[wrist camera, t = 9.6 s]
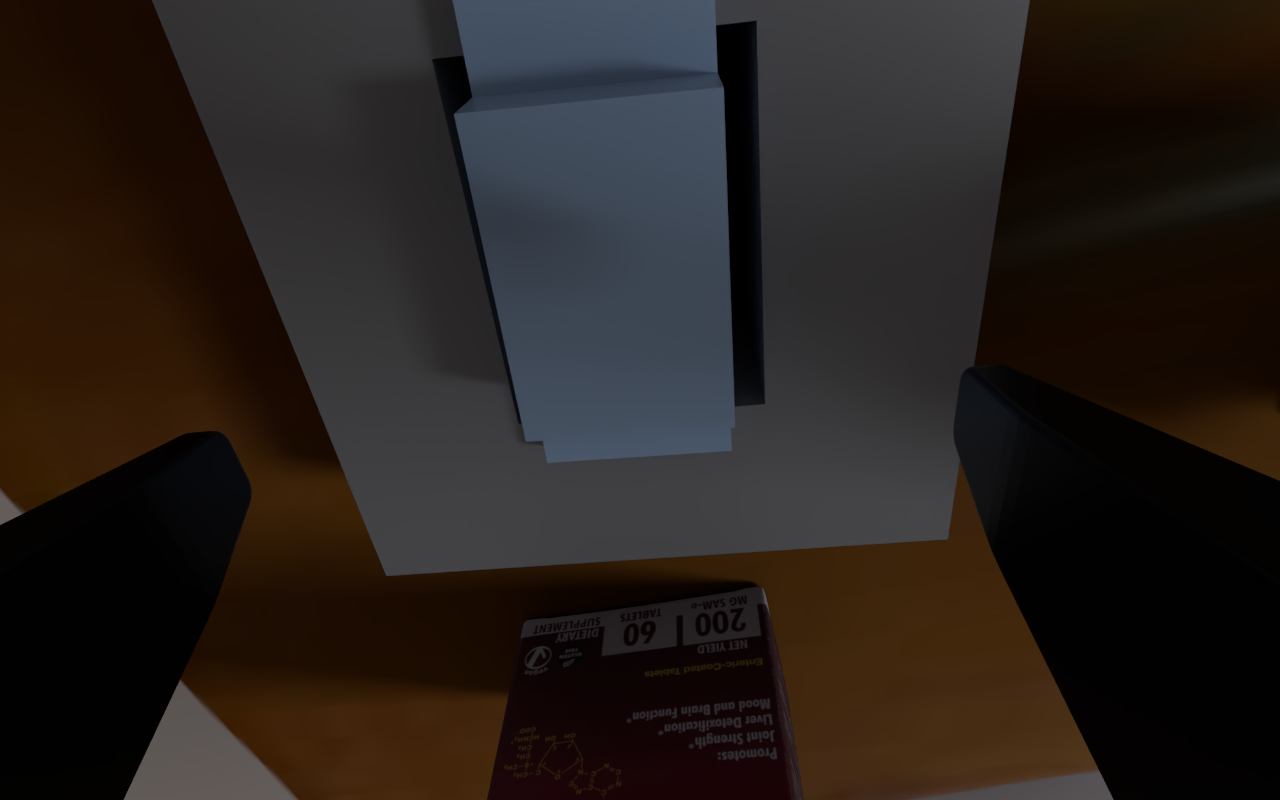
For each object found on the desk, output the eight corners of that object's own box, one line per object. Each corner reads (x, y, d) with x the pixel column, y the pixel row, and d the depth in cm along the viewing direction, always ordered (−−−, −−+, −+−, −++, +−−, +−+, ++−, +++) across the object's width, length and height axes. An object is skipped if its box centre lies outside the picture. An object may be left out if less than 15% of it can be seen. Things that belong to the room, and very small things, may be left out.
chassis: (901, 442, 21) (947, 539, 18) (427, 478, 22) (386, 575, 19) (974, -311, 13) (1090, -400, 9) (203, -195, 14) (55, -238, 10)
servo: (716, 346, 20) (737, 489, 15) (569, 357, 20) (538, 502, 15) (698, -50, 15) (719, -41, 10) (504, -28, 15) (427, -9, 10)
